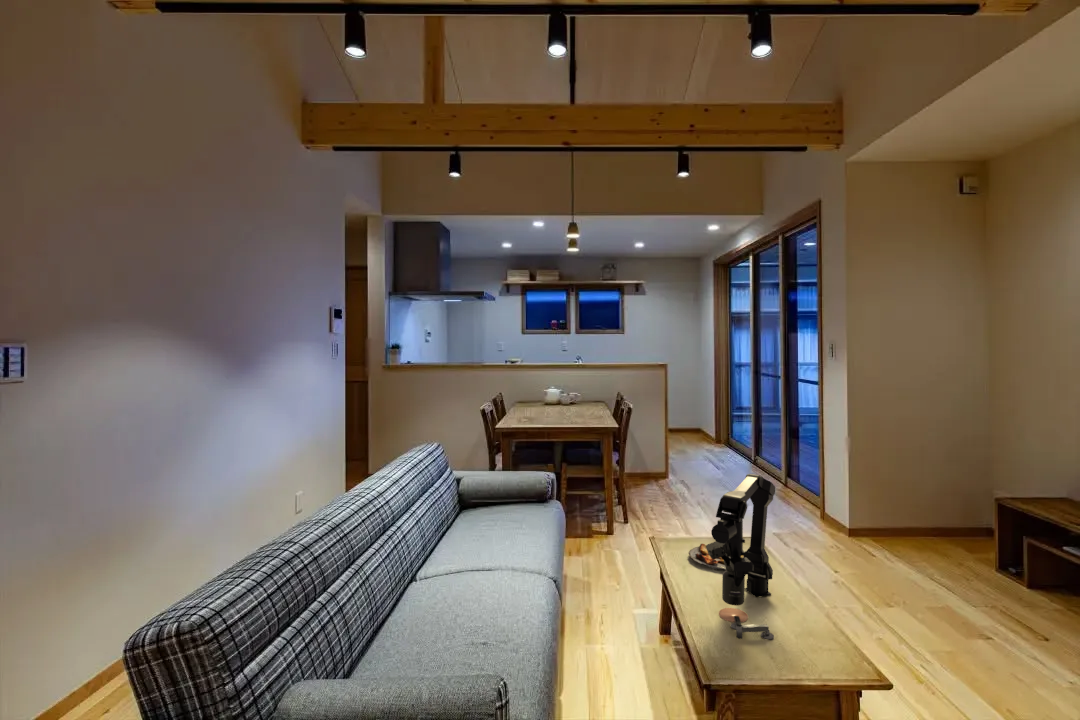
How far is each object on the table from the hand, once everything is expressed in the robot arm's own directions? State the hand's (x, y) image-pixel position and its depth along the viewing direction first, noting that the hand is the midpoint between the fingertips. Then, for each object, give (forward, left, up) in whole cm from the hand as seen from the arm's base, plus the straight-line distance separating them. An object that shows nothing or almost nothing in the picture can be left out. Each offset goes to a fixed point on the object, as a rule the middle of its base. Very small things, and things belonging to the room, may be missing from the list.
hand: (733, 581), depth 181 cm
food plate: (-22, -41, -12) cm, 48 cm away
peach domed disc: (0, 0, -11) cm, 11 cm away
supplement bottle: (0, 0, -7) cm, 7 cm away
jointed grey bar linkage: (+2, +10, -11) cm, 15 cm away
